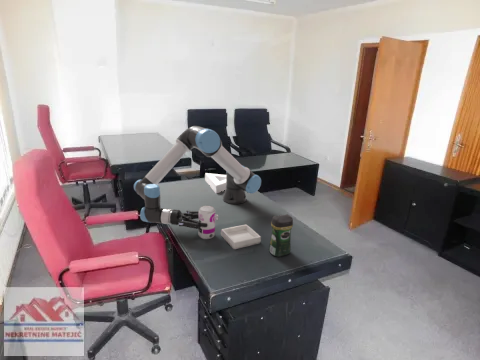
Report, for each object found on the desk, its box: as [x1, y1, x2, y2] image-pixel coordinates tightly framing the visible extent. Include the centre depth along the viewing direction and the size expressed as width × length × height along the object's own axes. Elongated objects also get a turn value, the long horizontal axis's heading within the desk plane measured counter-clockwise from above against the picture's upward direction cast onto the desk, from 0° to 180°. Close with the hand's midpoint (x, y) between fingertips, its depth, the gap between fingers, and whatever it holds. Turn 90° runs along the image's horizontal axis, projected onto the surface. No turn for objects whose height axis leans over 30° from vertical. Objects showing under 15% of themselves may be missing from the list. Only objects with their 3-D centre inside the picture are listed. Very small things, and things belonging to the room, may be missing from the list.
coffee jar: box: [268, 213, 294, 257], centre depth 141 cm, size 10×8×19 cm
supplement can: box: [197, 205, 216, 240], centre depth 154 cm, size 8×8×15 cm
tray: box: [220, 224, 262, 250], centre depth 154 cm, size 15×15×4 cm
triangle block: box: [204, 172, 226, 194], centre depth 224 cm, size 30×26×6 cm
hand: (216, 221), depth 153 cm, fingers closed on supplement can, 8 cm apart
